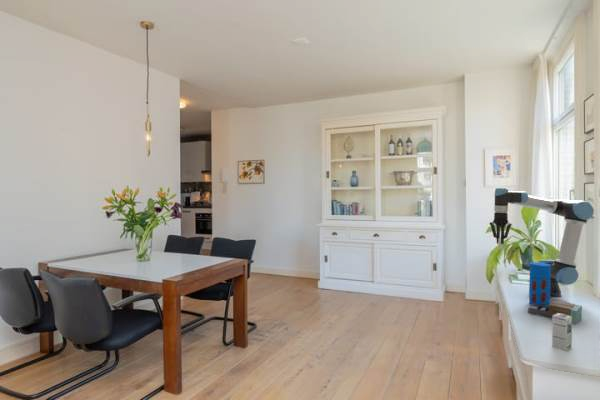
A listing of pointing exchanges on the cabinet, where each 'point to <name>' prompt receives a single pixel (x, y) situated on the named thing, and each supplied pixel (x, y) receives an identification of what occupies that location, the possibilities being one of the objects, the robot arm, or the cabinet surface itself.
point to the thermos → (539, 283)
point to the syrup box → (562, 331)
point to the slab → (560, 307)
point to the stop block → (576, 313)
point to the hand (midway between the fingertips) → (500, 248)
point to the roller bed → (540, 310)
